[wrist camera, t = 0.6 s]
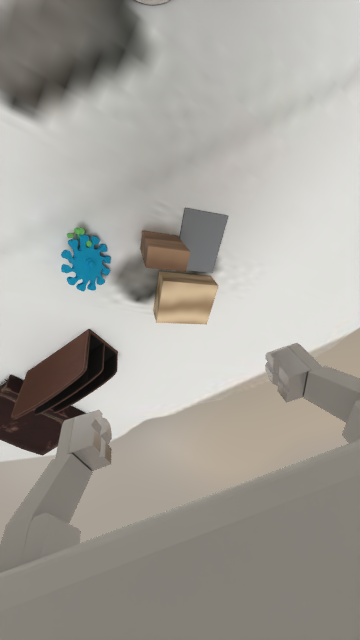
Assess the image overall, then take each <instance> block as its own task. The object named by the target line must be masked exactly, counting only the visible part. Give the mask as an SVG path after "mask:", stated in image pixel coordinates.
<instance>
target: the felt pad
mask: <svg viewBox="0 0 360 640" xmlns="http://www.w3.org/2000/svg"><path fill="white" fill-rule="evenodd" d="M227 219H228V216H226V215H221V214H215V213H210V212H205V211H199V210H194V209H189V208H185V210H184V216H183V221H182V226H181V232H180V237H179V239H180V240H181V241H182V242H183V243H184V245H185V246H186V247H187V248H188V249H189V251H190V256H189V260H188V265H187V270H191V271H200V272H210V273H212V272H213V269H214V265H215V262H216V258H217V255H218V251H219V248H220V244H221V240H222V237H223V233H224V230H225V226H226V223H227Z"/></svg>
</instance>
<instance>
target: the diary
mask: <svg viewBox="0 0 360 640" xmlns="http://www.w3.org/2000/svg"><path fill="white" fill-rule="evenodd" d="M4 380H6V379H4ZM6 381H7V383H5V384H3V385H2V386H0V440H2V441H5V442H7V443H9V444H12V445H14V446H16V447H19V448H21V449H24V450H27V451H30V452H33V453H36V454H40V455H44V454H46V453H47V452H49V451H51V450H52V449H54V448H56V447H57V446H58V443H59V438H60V433H61V428H62V424H63V422H64V421H65V420H67V419H71V418H74V417H77V416H80V415H83V414H86V413H84V412H82V411H80V410H78V409H76V408H74V407H72V406H69V407H67V408H65V409H64V410H62V411H60V412H57V413H53V408H54V407H52V408H50V409H48V410H47V411H45V412H43V413H41V414H38V415H35V414H34V412H35V409H36V408H35V409H34V410H32V411H30V412H29V413H27V414H25V415H23V416H21V417H19V418H17V419H14V420H13V419H12V418H11V414H12V411H13V408H14V406H15V403H16V400H17V397H18V395H19V392H20V390H21V387H22V384H23V382H24V381H22V380H20V379H18V378H16V377H15V376H13V375H10V376H9V379H8V380H6Z"/></svg>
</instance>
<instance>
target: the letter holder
mask: <svg viewBox="0 0 360 640" xmlns="http://www.w3.org/2000/svg"><path fill="white" fill-rule="evenodd" d="M117 354H118V352H117V351H116V350H115V349H113V348H112V347H111V346H110V345H109V344H107V343H106V342H105V341H104V340H103V339H101V338H100V337H99V336H98V335H97V334H95V333H94V332H93V331H91V330H90V329H88V330H87V331H86V332H84V333H83V334H81V335H80V336H79V337H77V338H76V339H74V340H73V341H72V342H70V343H69V344H67V345H66V346H64V347H63V348H61V349H60V350H58V351H57V352H55V353H54V354H52V355H51V356H50V357H48V358H47V359H45V360H44V361H42V362H41V363H39V364H38V365H37V366H35V367H34V368H32V369H31V370H29V371H28V372H27V374H26V377H25V379H24V382H23V384H22V387H21V390H20V392H19V395H18V397H17V400H16V403H15V406H14V408H13V411H12V414H11V418H12V419H13V420H14V419H17V418H19V417H21V416H23V415H25V414H27V413H29V412H30V411H32V410H34V409H35V408H36V409H35V412H34V414H35V415H38V414H41V413H43V412H45V411H47V410H48V409H50V408H52V407H54V408H53V413H57V412H60V411H62V410H64V409H65V408H67V407H69V406H71V405H72V404H74V403H76V402H78V401H79V400H81V399H82V398H84V397H85V396H87V395H89V394H90V393H92V392H93V391H95V390H96V389H97V388H99V387H100V386H102V385H103V384H104V383H106V382H107V381H108V380H109V379H111V378H112V377H113V376H114V375H115V374H116V372H117Z"/></svg>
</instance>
